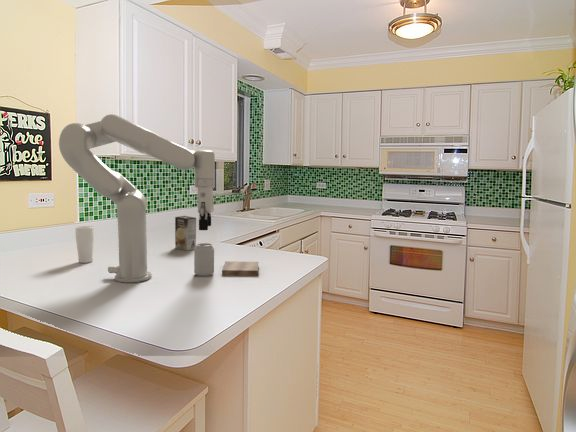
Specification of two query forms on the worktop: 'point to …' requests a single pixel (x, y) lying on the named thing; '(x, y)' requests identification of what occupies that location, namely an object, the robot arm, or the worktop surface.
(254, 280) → the worktop surface
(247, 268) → the walnut board
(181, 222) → the coffee box
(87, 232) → the drinking glass
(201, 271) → the can
